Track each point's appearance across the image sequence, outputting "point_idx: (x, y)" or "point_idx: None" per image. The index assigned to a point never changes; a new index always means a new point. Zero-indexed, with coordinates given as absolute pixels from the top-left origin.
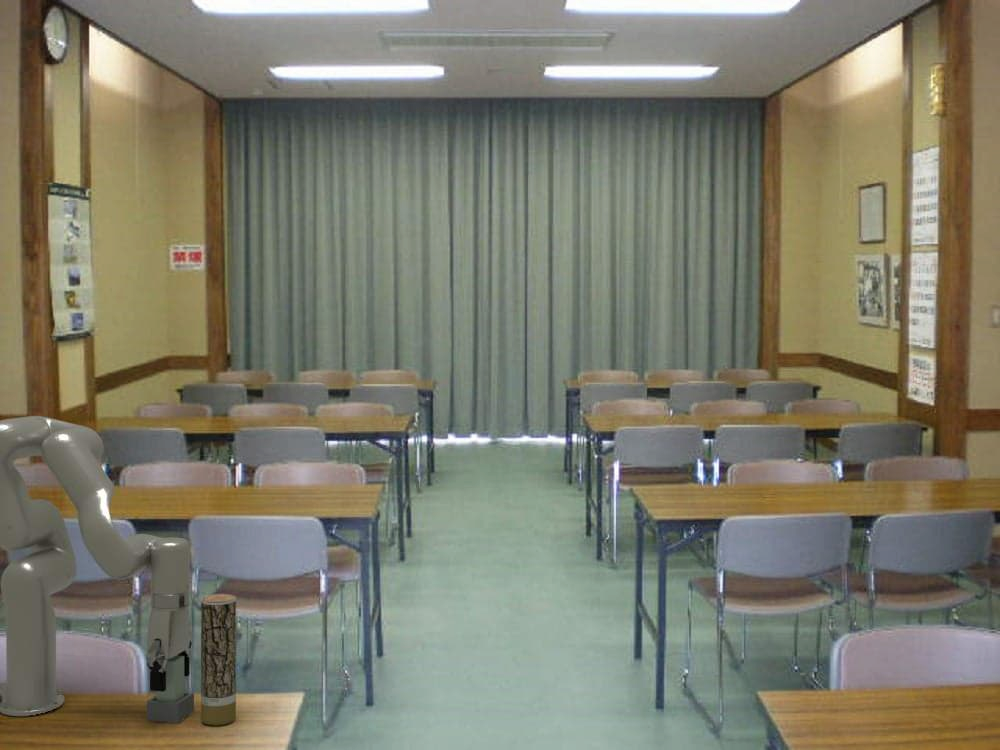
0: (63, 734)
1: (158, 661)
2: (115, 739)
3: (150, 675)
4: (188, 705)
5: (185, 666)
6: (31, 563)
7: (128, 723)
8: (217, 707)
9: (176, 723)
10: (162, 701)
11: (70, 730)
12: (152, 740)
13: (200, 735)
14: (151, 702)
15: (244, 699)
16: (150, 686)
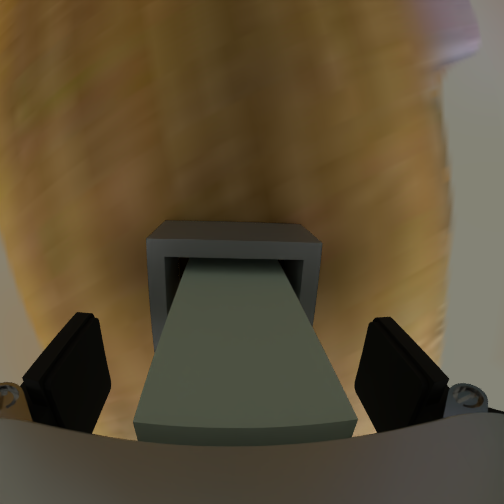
0: (19, 32)
1: (137, 432)
2: (5, 208)
3: (40, 360)
4: None
5: (374, 414)
6: None
7: (126, 164)
8: None
9: None
10: (164, 313)
11: (47, 25)
12: (35, 319)
13: (116, 419)
14: (147, 263)
15: None
16: (71, 322)
